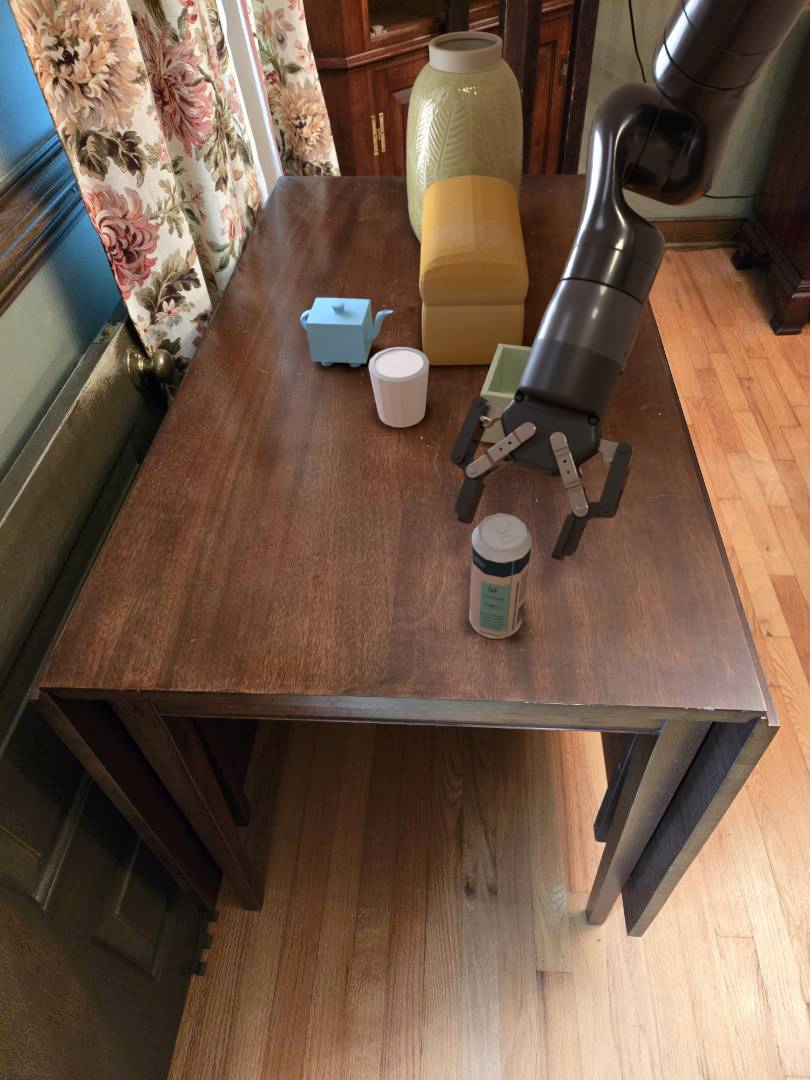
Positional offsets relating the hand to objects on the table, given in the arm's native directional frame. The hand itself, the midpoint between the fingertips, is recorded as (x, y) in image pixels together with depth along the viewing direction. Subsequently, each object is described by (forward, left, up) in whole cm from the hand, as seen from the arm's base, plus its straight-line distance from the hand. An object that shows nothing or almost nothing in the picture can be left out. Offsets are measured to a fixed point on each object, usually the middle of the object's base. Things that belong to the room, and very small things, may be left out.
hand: (509, 540), depth 60 cm
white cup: (+17, -25, -9) cm, 32 cm away
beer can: (0, +2, -9) cm, 9 cm away
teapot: (+27, -35, -9) cm, 46 cm away
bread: (+14, -48, -9) cm, 51 cm away
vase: (+20, -69, -9) cm, 73 cm away
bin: (+2, -27, -9) cm, 29 cm away
